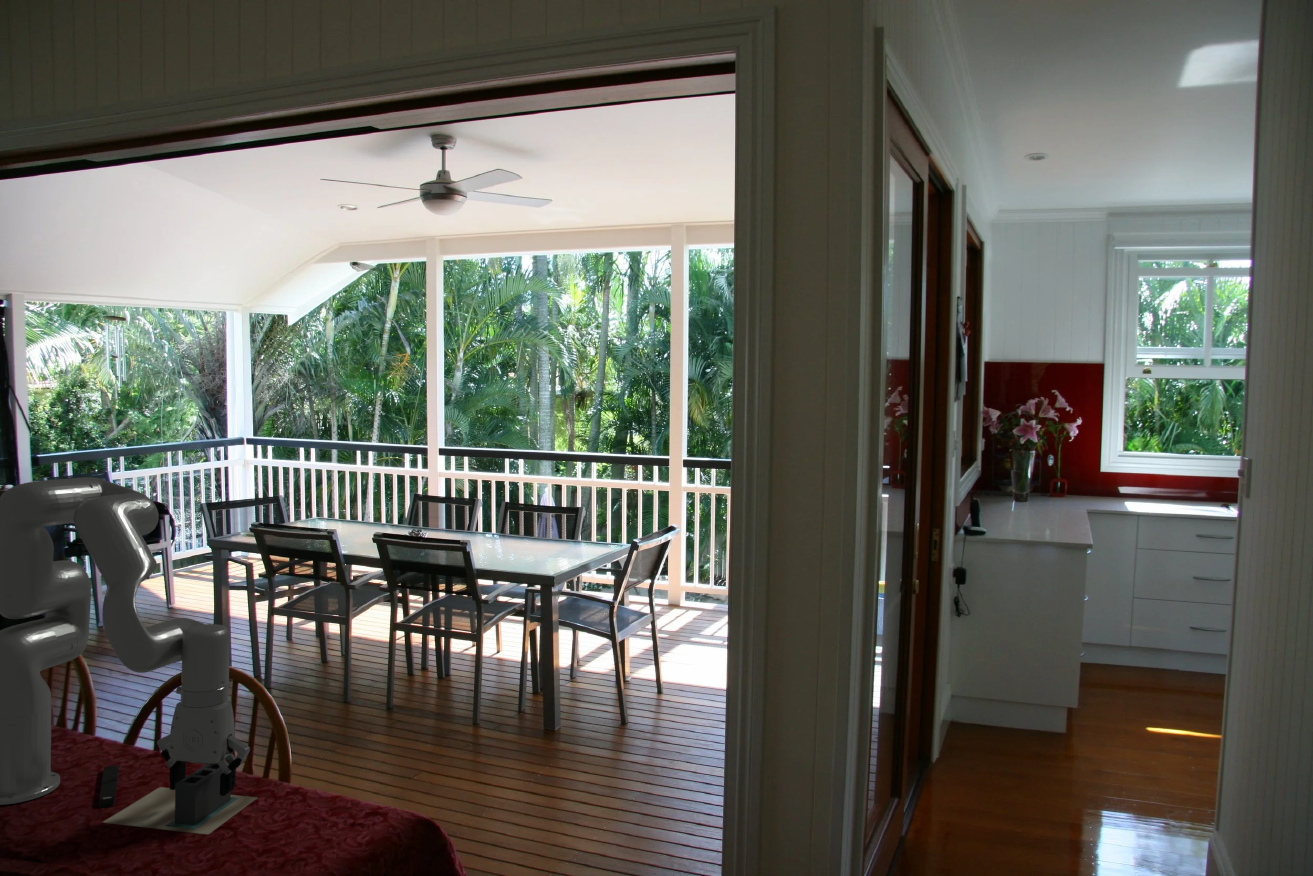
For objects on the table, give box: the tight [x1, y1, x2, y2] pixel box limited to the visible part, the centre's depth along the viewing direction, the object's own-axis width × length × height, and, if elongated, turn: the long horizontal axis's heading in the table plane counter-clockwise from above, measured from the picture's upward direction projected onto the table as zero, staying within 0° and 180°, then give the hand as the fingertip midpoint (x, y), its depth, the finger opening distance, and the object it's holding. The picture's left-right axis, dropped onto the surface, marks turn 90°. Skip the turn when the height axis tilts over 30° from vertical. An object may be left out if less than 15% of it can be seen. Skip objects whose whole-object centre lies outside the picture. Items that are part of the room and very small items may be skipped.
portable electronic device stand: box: [98, 764, 120, 809], centre depth 161 cm, size 18×3×3 cm, turn 30°
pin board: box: [102, 786, 258, 835], centre depth 153 cm, size 20×14×5 cm
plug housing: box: [175, 761, 232, 825], centre depth 153 cm, size 10×4×7 cm, turn 172°
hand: (202, 789), depth 153 cm, fingers open, 9 cm apart
